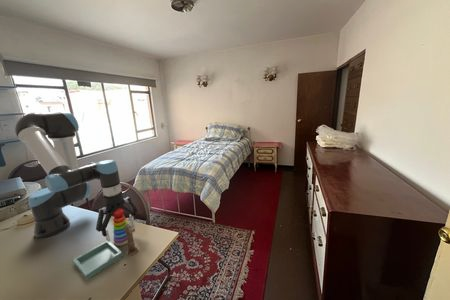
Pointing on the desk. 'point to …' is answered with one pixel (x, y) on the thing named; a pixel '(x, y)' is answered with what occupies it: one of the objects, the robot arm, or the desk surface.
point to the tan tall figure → (130, 239)
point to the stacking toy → (119, 228)
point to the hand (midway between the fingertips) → (121, 233)
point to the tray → (97, 259)
